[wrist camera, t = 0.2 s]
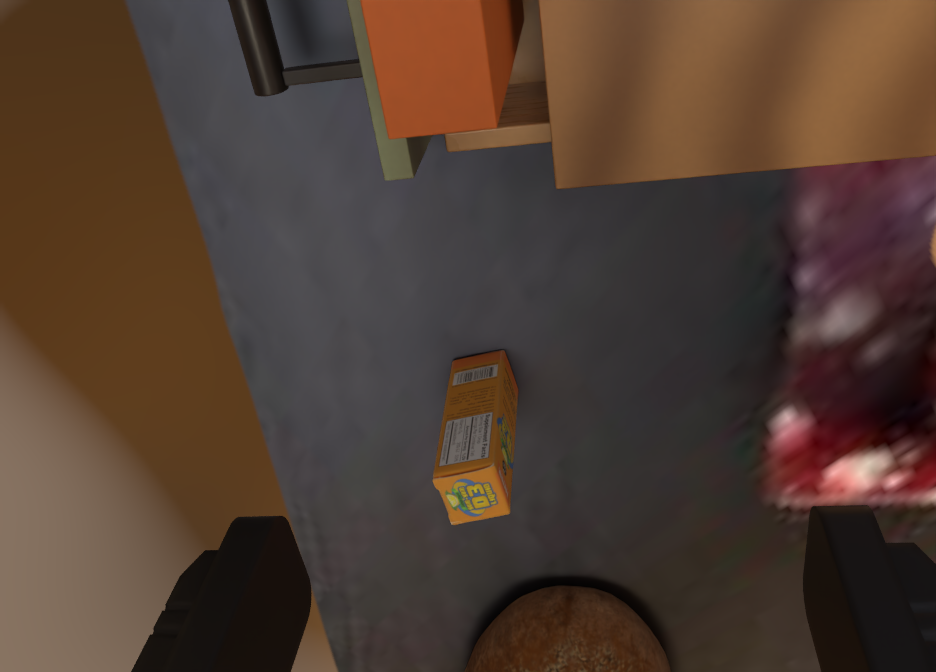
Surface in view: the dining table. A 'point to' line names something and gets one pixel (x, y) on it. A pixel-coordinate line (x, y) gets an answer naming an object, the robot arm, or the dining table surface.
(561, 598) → the bread
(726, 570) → the dining table surface
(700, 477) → the dining table surface
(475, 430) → the supplement box
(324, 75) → the drawer
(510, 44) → the snack carton
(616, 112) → the cabinet
